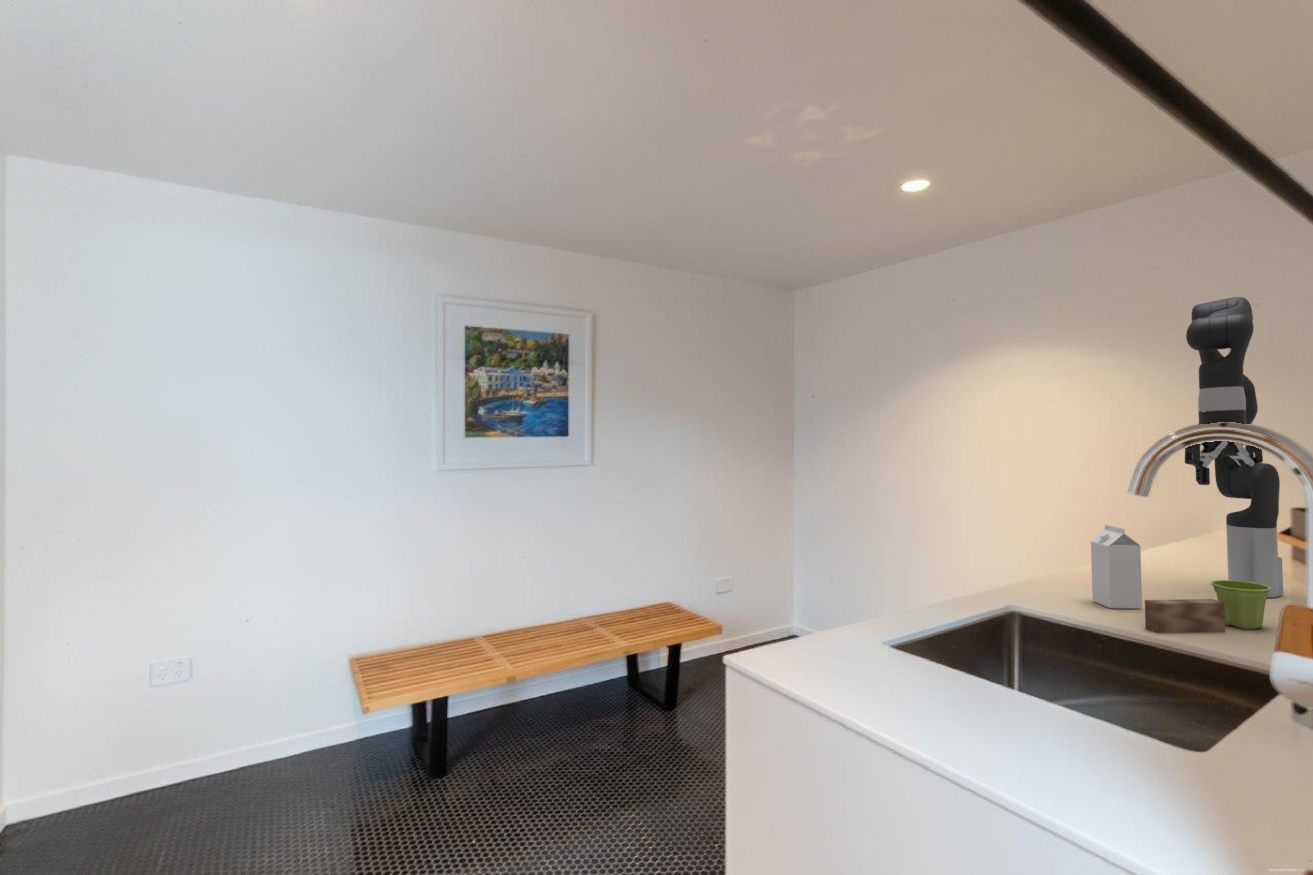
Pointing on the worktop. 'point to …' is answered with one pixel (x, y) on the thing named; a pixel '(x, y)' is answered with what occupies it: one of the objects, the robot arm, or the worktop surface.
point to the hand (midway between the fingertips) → (1224, 484)
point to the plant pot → (1242, 602)
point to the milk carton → (1116, 569)
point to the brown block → (1185, 615)
